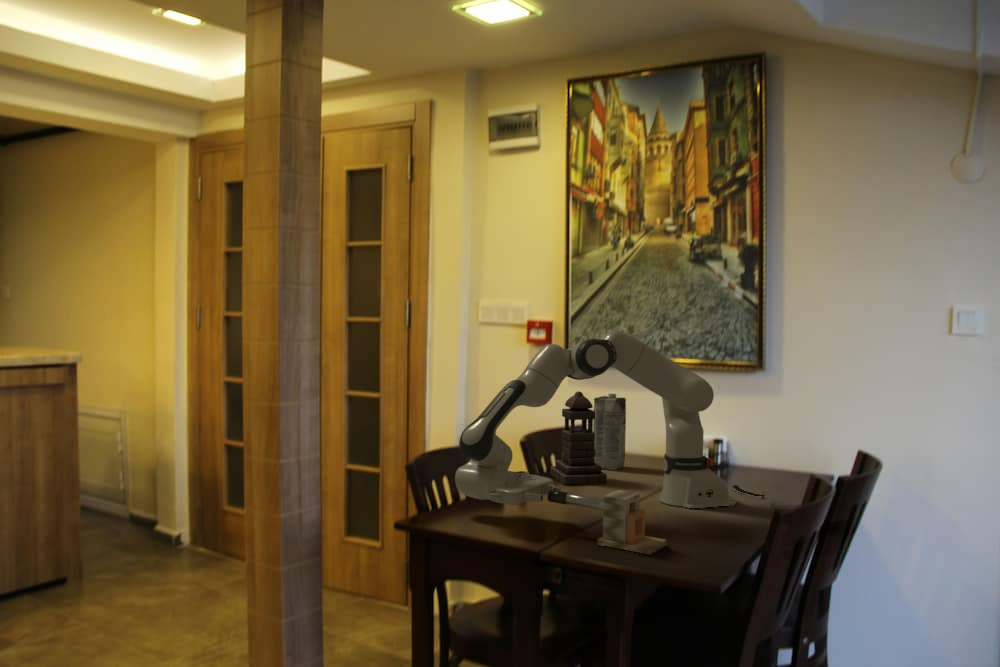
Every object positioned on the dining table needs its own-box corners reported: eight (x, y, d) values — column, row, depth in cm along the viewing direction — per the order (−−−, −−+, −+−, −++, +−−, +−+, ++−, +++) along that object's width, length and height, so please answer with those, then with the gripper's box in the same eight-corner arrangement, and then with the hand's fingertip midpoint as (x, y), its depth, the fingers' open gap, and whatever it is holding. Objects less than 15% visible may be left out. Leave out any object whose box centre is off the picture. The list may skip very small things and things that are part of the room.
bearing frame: (597, 545, 202) (598, 496, 202) (615, 535, 210) (616, 488, 210) (649, 555, 194) (651, 504, 194) (666, 545, 202) (667, 496, 202)
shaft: (547, 502, 214) (547, 491, 214) (553, 500, 216) (553, 488, 216) (611, 513, 203) (611, 501, 203) (616, 511, 206) (616, 499, 206)
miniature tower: (607, 483, 270) (608, 393, 269) (564, 485, 267) (565, 394, 266) (590, 473, 286) (592, 388, 285) (549, 475, 283) (551, 389, 282)
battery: (616, 471, 290) (618, 396, 288) (590, 468, 295) (591, 393, 294) (627, 467, 297) (628, 393, 296) (601, 464, 303) (602, 391, 302)
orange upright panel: (626, 543, 199) (627, 514, 199) (638, 536, 205) (639, 508, 205) (632, 544, 198) (633, 515, 198) (644, 537, 204) (644, 509, 204)
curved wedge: (743, 500, 253) (743, 495, 252) (731, 490, 266) (731, 485, 266) (770, 500, 252) (770, 495, 252) (756, 490, 266) (756, 485, 266)
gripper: (485, 482, 214) (530, 490, 206) (526, 470, 231) (569, 476, 223) (484, 506, 214) (529, 514, 206) (526, 492, 231) (569, 499, 223)
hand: (550, 494), depth 215 cm, fingers open, 8 cm apart
